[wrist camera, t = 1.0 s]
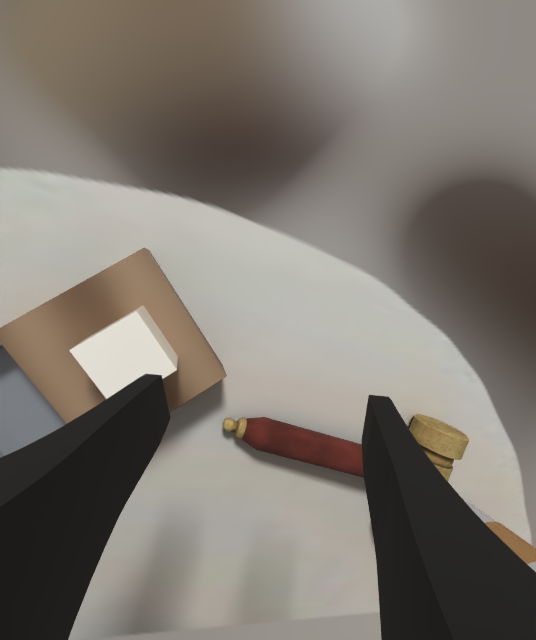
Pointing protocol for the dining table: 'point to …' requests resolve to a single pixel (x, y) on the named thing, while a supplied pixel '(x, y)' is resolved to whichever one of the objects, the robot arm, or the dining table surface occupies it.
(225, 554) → the dining table surface
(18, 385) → the tray
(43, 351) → the board
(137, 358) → the tile block
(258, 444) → the gavel
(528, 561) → the coffee cup
